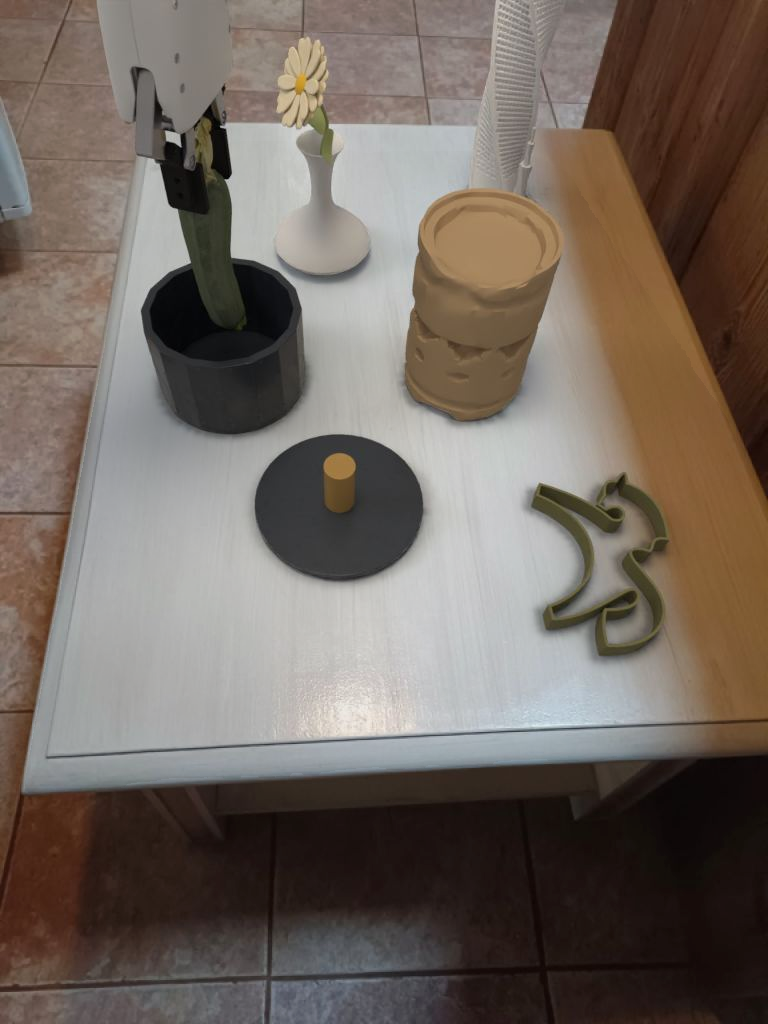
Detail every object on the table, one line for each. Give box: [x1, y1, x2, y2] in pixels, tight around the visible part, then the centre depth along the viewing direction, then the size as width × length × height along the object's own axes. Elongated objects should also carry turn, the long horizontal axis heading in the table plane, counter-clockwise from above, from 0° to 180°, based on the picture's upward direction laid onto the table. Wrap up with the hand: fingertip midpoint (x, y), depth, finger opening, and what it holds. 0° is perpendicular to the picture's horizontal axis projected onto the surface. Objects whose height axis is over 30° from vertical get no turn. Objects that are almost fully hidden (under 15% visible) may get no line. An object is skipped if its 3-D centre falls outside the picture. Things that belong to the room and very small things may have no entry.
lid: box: [254, 433, 424, 579], centre depth 65 cm, size 16×16×7 cm
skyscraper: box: [468, 0, 567, 197], centre depth 82 cm, size 8×8×28 cm
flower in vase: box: [273, 36, 371, 276], centre depth 76 cm, size 13×11×25 cm
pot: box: [140, 257, 306, 435], centre depth 72 cm, size 15×15×10 cm
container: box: [404, 188, 565, 422], centre depth 70 cm, size 13×13×18 cm
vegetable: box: [177, 116, 246, 331], centre depth 61 cm, size 4×4×20 cm
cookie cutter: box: [530, 471, 670, 657], centre depth 65 cm, size 18×12×2 cm, turn 178°
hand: (201, 189), depth 57 cm, fingers closed on vegetable, 4 cm apart
